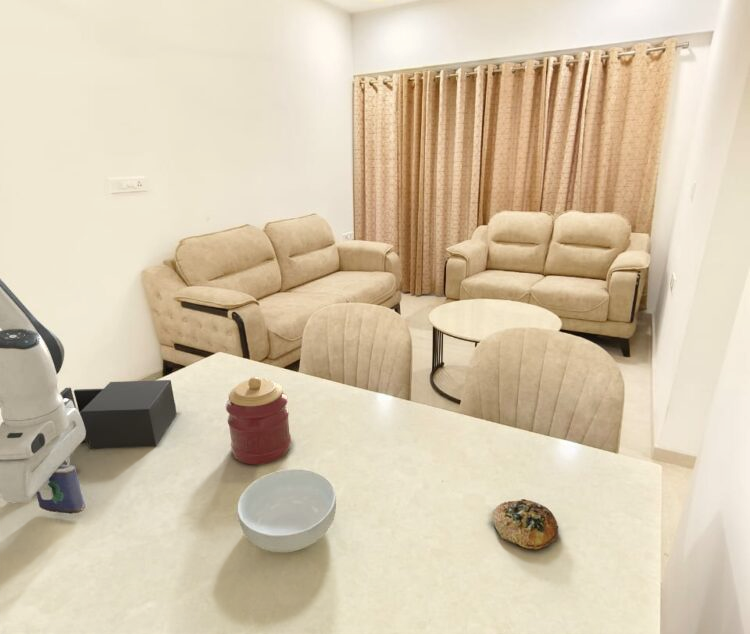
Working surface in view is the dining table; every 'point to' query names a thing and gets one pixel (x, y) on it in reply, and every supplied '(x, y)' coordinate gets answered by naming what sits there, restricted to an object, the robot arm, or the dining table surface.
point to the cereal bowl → (287, 510)
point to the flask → (64, 492)
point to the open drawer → (81, 398)
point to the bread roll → (525, 523)
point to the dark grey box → (129, 414)
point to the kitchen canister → (258, 421)
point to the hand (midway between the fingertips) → (56, 488)
